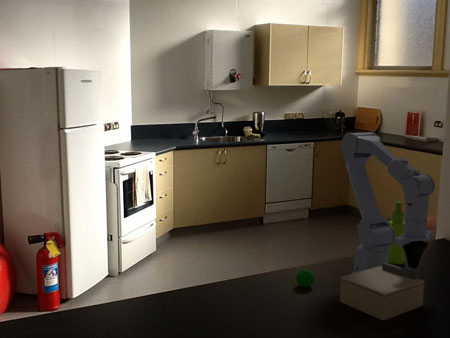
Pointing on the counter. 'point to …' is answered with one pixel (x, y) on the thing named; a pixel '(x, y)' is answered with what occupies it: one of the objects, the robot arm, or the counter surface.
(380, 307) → the carton
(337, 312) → the counter surface
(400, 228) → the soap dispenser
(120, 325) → the counter surface
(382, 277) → the carton lid
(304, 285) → the green ball
